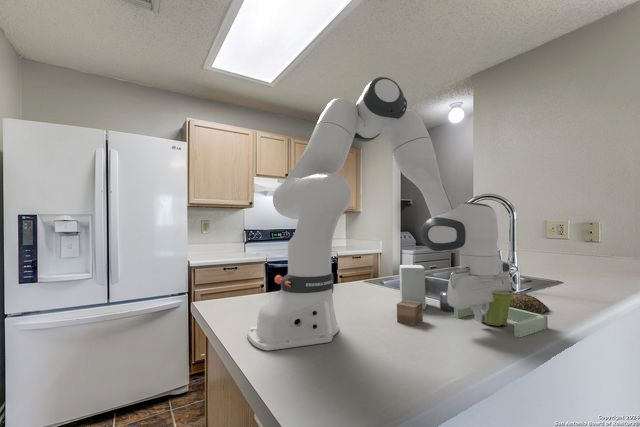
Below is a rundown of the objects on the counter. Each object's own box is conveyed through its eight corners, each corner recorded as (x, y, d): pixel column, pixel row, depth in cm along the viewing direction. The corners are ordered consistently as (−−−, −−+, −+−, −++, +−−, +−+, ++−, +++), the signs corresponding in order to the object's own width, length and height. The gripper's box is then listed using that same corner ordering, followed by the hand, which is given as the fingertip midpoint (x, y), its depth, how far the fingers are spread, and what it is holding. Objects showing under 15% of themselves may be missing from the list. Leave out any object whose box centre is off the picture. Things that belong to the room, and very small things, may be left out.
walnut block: (414, 326, 76) (414, 307, 76) (397, 322, 80) (396, 303, 80) (422, 321, 80) (422, 303, 80) (405, 317, 83) (405, 300, 84)
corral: (520, 337, 68) (519, 324, 68) (454, 316, 83) (453, 306, 83) (547, 328, 74) (547, 316, 74) (481, 310, 89) (481, 300, 89)
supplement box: (426, 309, 91) (425, 268, 91) (401, 308, 92) (400, 267, 93) (422, 302, 98) (422, 264, 98) (399, 302, 100) (399, 264, 100)
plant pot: (515, 331, 71) (515, 294, 72) (472, 323, 76) (472, 289, 76) (512, 321, 79) (513, 288, 80) (473, 315, 84) (473, 284, 84)
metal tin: (450, 313, 87) (450, 296, 87) (436, 309, 91) (436, 292, 91) (461, 310, 89) (461, 294, 89) (447, 306, 93) (447, 290, 94)
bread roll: (494, 309, 91) (493, 293, 91) (503, 301, 100) (502, 286, 100) (546, 318, 82) (545, 300, 82) (551, 308, 91) (550, 292, 91)
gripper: (462, 271, 67) (464, 332, 67) (515, 264, 77) (516, 318, 76) (440, 267, 73) (441, 324, 73) (491, 261, 82) (493, 311, 82)
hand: (480, 320), depth 75 cm, fingers closed
